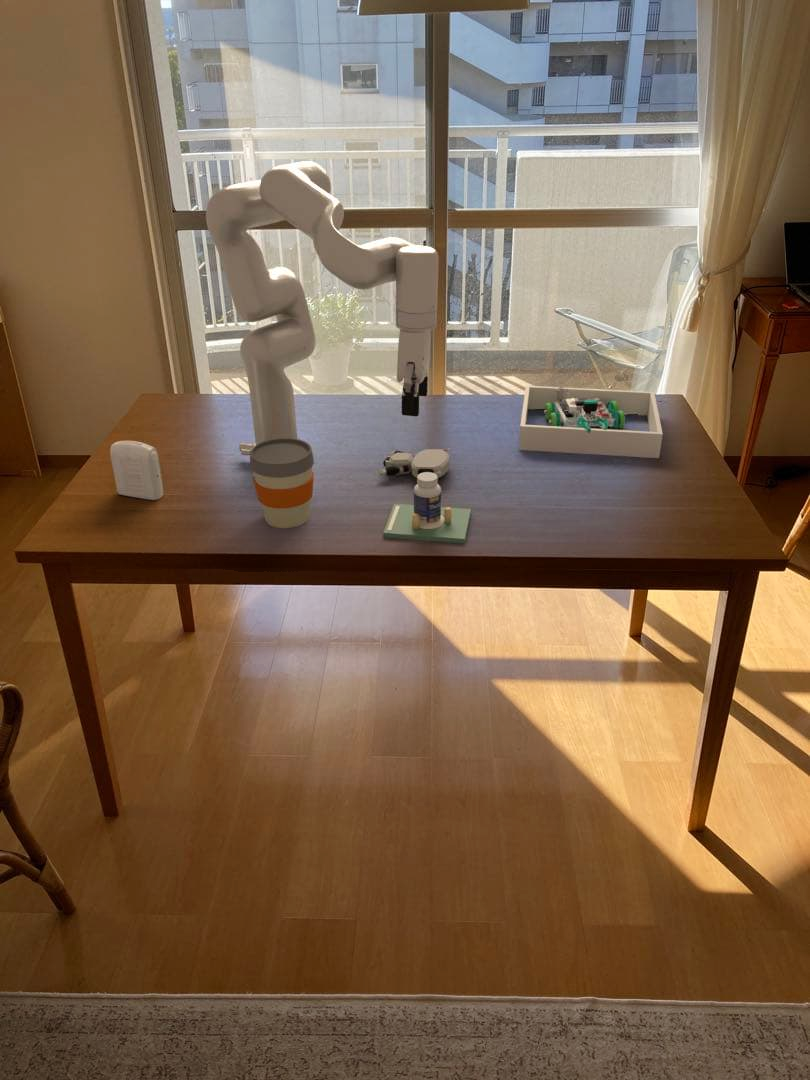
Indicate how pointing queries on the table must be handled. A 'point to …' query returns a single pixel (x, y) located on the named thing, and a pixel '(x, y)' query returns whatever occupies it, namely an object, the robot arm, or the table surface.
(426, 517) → the pill bottle
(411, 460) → the robot toy
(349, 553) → the table surface
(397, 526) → the board
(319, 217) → the robot arm
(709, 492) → the table surface
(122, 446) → the photo printer
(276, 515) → the reusable coffee cup
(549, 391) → the storage frame
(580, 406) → the robot kit
